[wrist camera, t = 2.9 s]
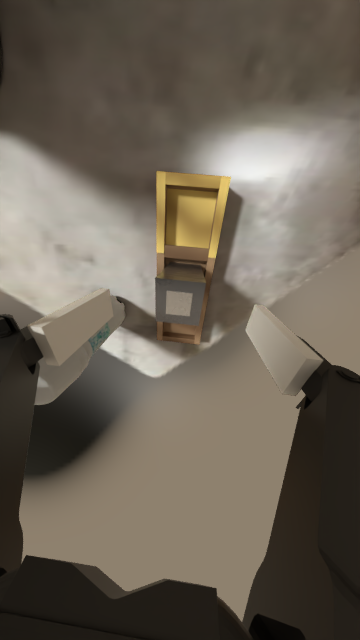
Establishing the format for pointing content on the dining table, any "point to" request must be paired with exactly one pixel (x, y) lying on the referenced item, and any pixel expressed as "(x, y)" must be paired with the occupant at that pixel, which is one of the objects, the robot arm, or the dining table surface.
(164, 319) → the block
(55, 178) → the dining table surface
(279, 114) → the dining table surface
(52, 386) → the bottle
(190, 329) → the wooden compartment tray
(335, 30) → the dining table surface
